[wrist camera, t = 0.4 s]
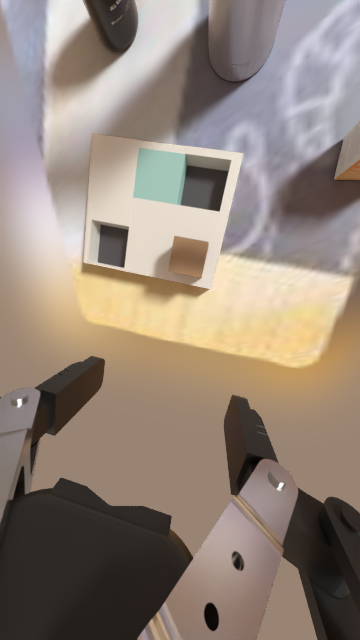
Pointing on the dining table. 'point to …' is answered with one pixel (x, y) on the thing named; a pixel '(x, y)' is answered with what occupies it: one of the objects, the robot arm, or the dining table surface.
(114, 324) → the dining table surface
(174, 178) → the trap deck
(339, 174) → the small box
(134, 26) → the supplement bottle
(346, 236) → the dining table surface
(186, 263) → the walnut block
